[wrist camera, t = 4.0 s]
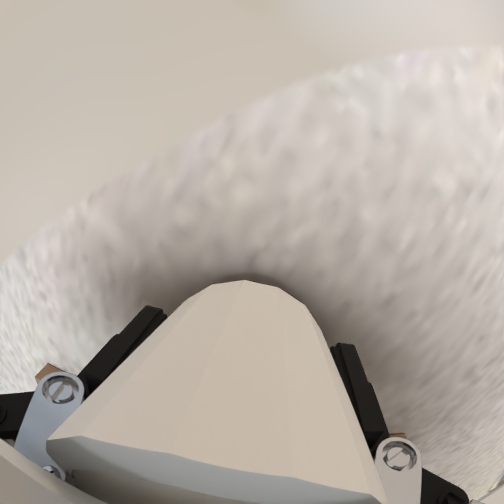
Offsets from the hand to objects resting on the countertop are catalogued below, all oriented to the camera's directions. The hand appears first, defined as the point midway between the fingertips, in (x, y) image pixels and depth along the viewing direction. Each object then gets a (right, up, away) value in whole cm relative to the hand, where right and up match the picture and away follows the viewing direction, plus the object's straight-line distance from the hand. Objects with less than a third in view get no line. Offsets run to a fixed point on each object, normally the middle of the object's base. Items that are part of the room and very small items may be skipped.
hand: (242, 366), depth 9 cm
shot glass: (0, 0, +1) cm, 1 cm away
